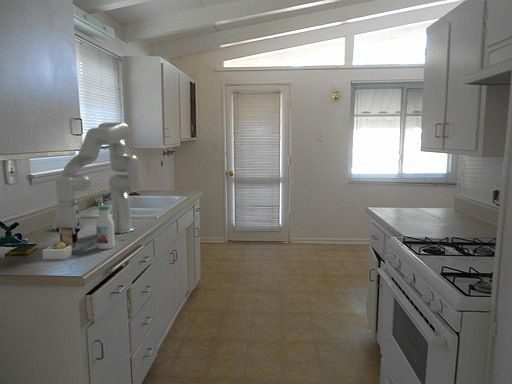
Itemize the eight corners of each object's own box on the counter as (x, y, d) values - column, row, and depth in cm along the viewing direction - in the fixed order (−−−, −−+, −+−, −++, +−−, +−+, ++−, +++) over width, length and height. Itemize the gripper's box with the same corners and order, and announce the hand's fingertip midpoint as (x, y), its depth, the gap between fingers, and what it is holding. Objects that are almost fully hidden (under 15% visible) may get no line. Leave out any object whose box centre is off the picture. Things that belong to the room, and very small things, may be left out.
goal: (51, 254, 174) (50, 245, 174) (72, 254, 174) (71, 245, 174) (43, 259, 168) (42, 250, 167) (65, 259, 168) (64, 250, 167)
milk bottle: (109, 244, 191) (107, 204, 188) (118, 246, 186) (115, 205, 183) (94, 247, 185) (91, 206, 182) (103, 250, 180) (100, 208, 177)
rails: (59, 245, 182) (59, 244, 182) (79, 245, 182) (79, 243, 182) (50, 250, 174) (50, 248, 174) (71, 250, 174) (71, 248, 174)
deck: (61, 244, 190) (61, 240, 190) (92, 244, 190) (92, 240, 190) (44, 254, 174) (44, 250, 174) (78, 254, 174) (78, 250, 174)
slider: (66, 243, 184) (65, 226, 183) (76, 243, 184) (75, 226, 183) (62, 245, 180) (61, 228, 179) (72, 245, 180) (71, 228, 179)
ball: (55, 241, 173) (54, 249, 171) (63, 241, 173) (62, 249, 172) (59, 242, 176) (58, 250, 175) (67, 242, 176) (66, 250, 175)
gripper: (88, 202, 183) (90, 239, 186) (52, 202, 183) (55, 240, 185) (81, 205, 176) (84, 244, 178) (43, 205, 175) (46, 244, 178)
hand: (69, 241), depth 182 cm, fingers closed on slider, 4 cm apart
